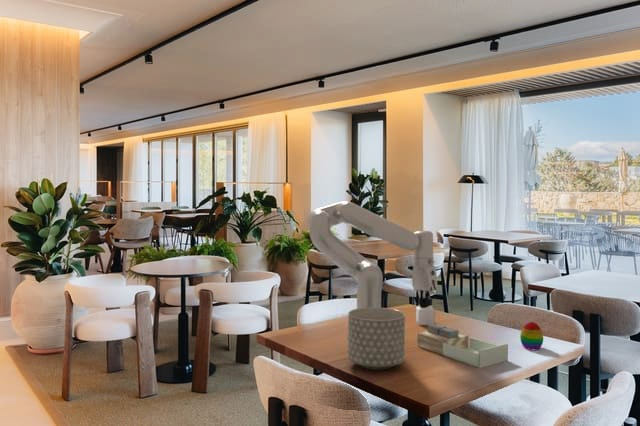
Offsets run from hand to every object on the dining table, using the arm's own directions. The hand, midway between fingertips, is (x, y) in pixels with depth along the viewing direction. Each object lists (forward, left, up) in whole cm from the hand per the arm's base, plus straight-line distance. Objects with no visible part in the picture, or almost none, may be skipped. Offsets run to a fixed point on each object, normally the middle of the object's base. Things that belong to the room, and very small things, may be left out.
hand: (424, 307), depth 207 cm
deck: (-1, -11, -14) cm, 17 cm away
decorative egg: (+28, -29, -14) cm, 43 cm away
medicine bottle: (+20, +20, -14) cm, 32 cm away
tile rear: (-1, -8, -9) cm, 12 cm away
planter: (-37, -14, -14) cm, 42 cm away
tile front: (-1, -14, -9) cm, 16 cm away
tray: (-1, -26, -14) cm, 29 cm away
